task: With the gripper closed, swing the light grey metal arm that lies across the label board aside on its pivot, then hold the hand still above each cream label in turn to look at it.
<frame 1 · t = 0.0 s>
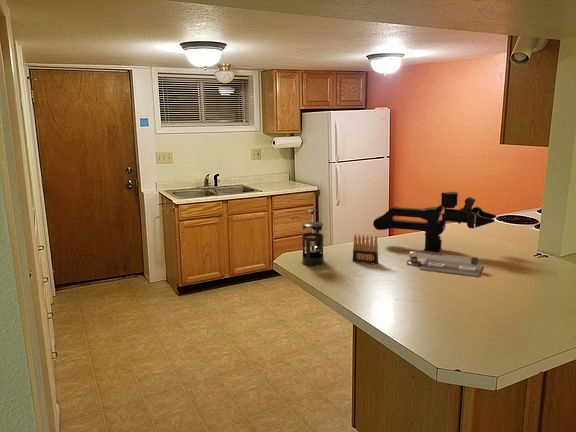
hand: (495, 218, 200), 17 cm above the countertop, tool horizontal, fingers open, 9 cm apart
french press: (313, 262, 200), on the countertop
cable arm: (442, 257, 189), point 4 cm above the countertop, hinge at 0.0°
pivot post: (413, 263, 195), on the countertop
ammunition clip: (365, 262, 199), on the countertop
label board: (451, 268, 189), on the countertop
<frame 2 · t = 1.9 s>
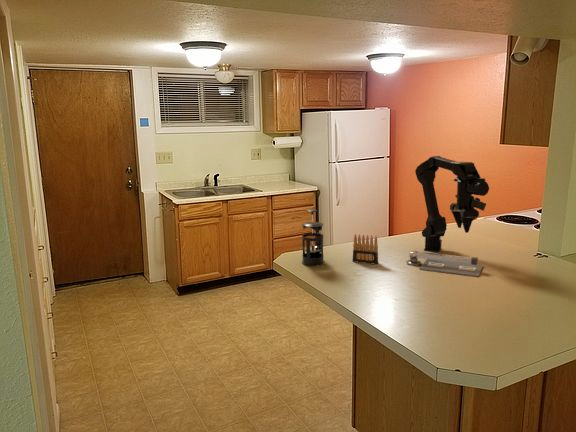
hand: (463, 230, 195), 13 cm above the countertop, tool pointing down, fingers open, 9 cm apart
nothing on the countertop moved.
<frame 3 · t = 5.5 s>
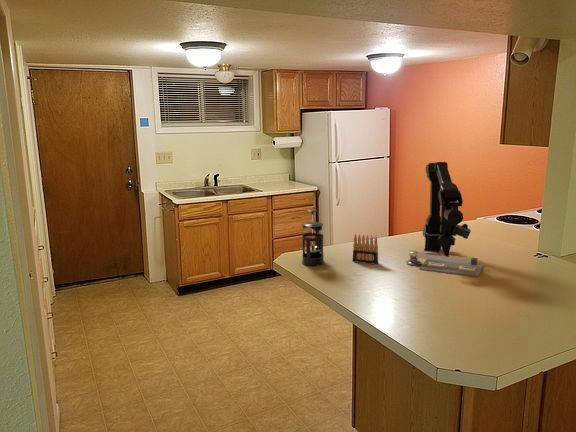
hand: (446, 256, 190), 4 cm above the countertop, tool pointing down, fingers closed
cable arm: (442, 257, 189), point 4 cm above the countertop, hinge at -1.8°, touching gripper
everything else where it was.
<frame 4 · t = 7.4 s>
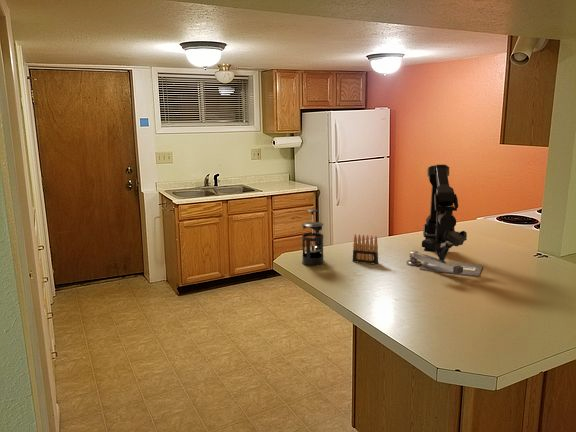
hand: (442, 261, 184), 4 cm above the countertop, tool pointing down, fingers closed
cable arm: (434, 261, 185), point 4 cm above the countertop, hinge at -34.6°, touching gripper
everything else where it was.
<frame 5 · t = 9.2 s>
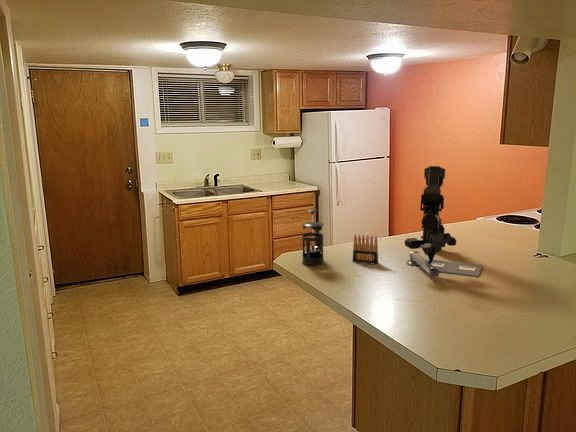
hand: (429, 263, 182), 4 cm above the countertop, tool pointing down, fingers closed
cable arm: (423, 262, 184), point 4 cm above the countertop, hinge at -59.5°, touching gripper
everything else where it was.
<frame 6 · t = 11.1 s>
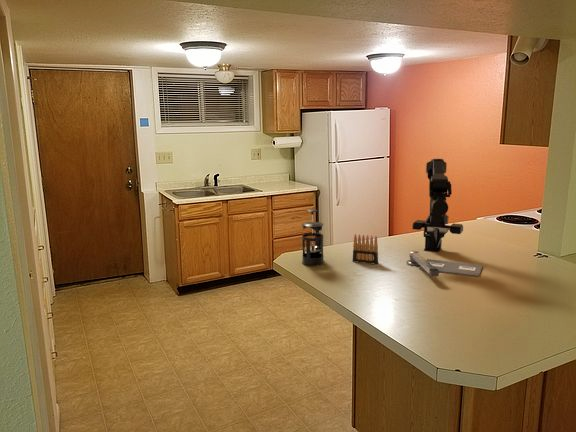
hand: (436, 247, 189), 8 cm above the countertop, tool pointing down, fingers closed
cable arm: (423, 262, 184), point 4 cm above the countertop, hinge at -59.5°
everything else where it was.
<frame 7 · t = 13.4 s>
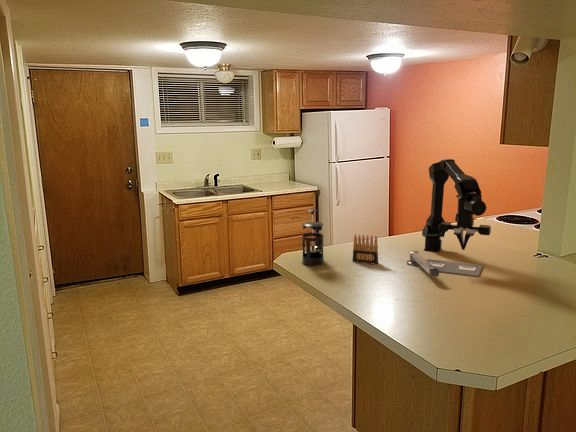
hand: (463, 249, 185), 8 cm above the countertop, tool pointing down, fingers closed
nothing on the countertop moved.
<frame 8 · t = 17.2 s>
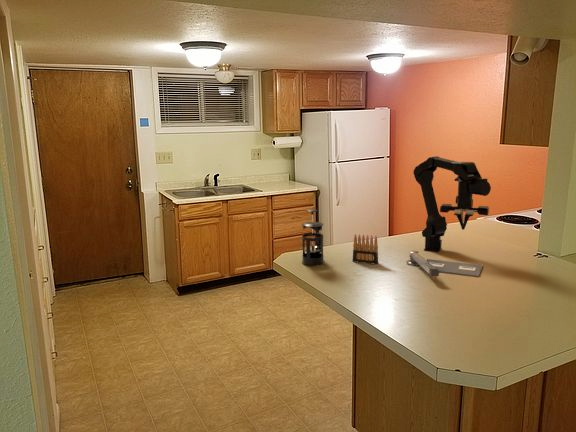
hand: (463, 229, 197), 13 cm above the countertop, tool pointing down, fingers closed
nothing on the countertop moved.
at the end: cable arm at -60° (first picture: +0°); cable arm touching nothing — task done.
